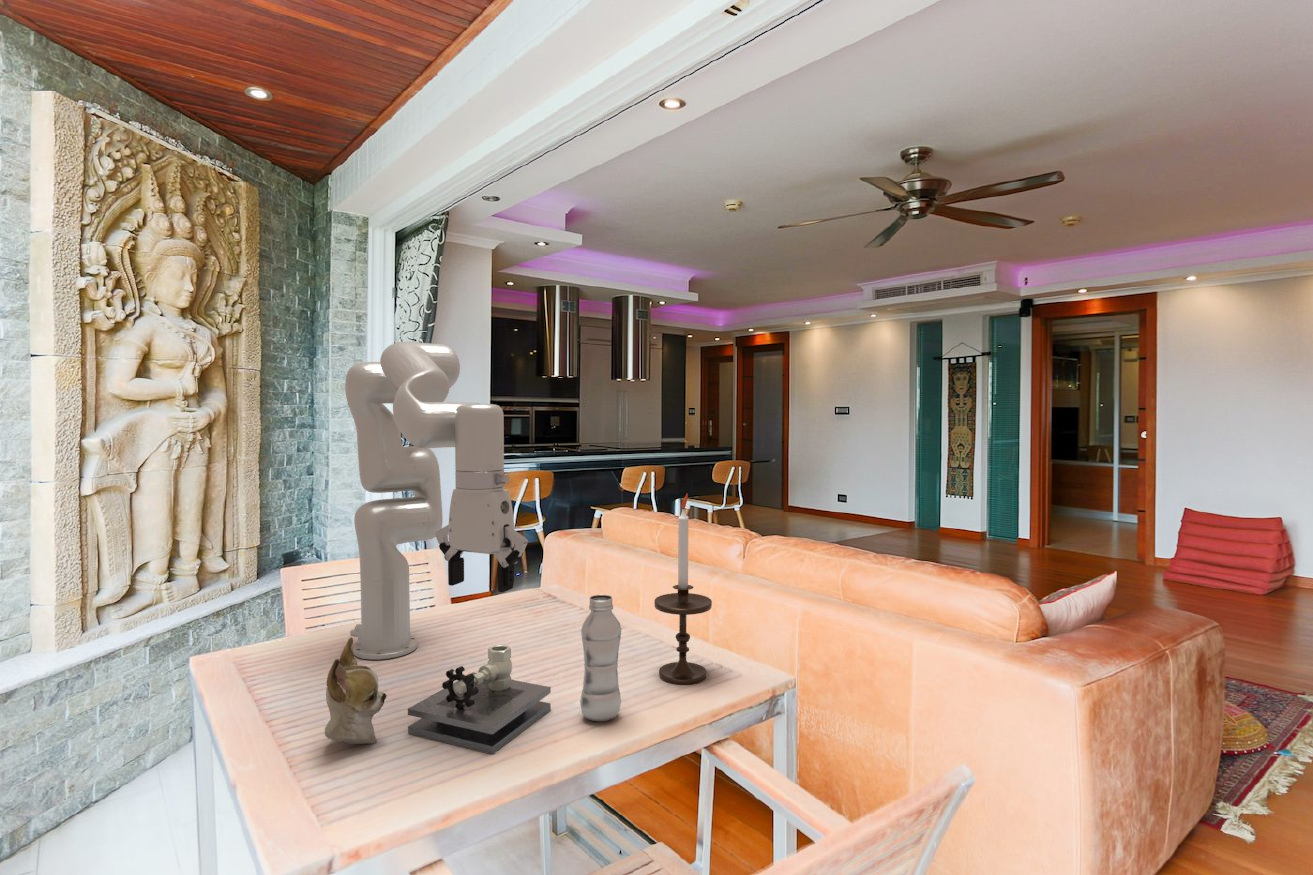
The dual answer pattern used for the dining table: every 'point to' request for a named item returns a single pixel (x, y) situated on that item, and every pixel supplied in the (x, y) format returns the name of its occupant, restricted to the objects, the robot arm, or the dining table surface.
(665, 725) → the dining table surface
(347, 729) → the ceramic sculpture
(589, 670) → the plastic bottle
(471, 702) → the valve
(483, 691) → the stand
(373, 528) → the robot arm
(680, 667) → the candlestick
